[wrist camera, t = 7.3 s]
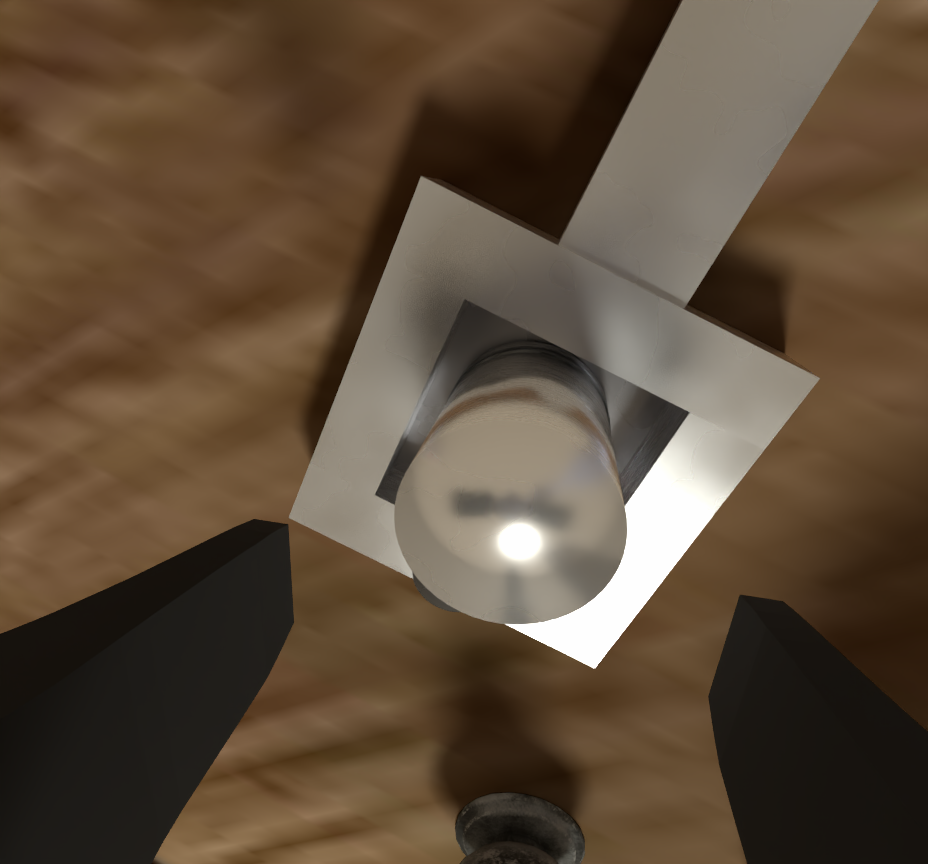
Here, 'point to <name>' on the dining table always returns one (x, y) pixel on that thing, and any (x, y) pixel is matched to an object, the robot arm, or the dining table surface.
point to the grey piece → (600, 303)
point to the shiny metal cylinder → (516, 490)
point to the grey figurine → (517, 832)
